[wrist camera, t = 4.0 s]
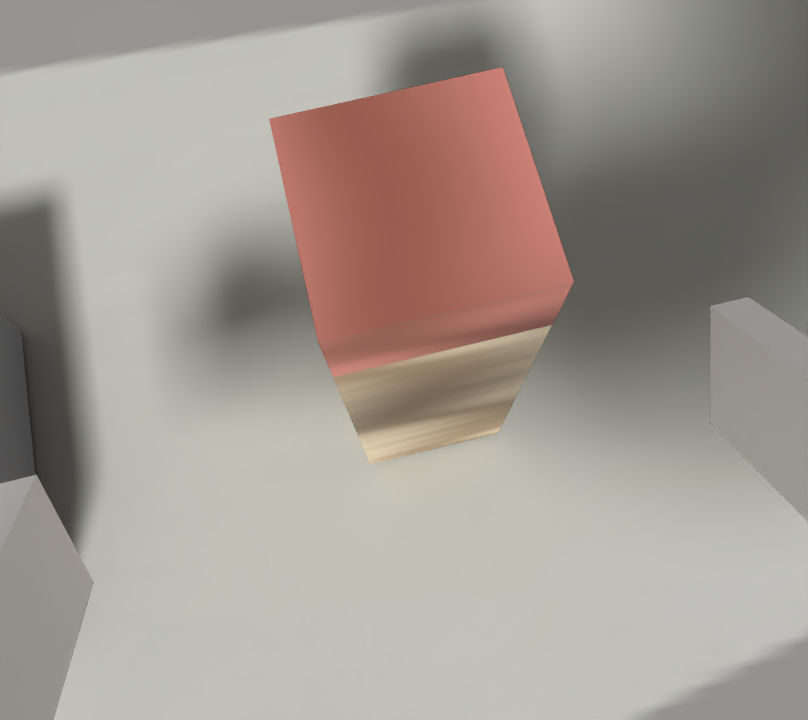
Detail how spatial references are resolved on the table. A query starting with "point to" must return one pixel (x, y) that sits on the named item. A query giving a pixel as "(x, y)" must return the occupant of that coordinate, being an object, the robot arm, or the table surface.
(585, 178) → the table surface
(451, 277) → the plug peg
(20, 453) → the socket block
